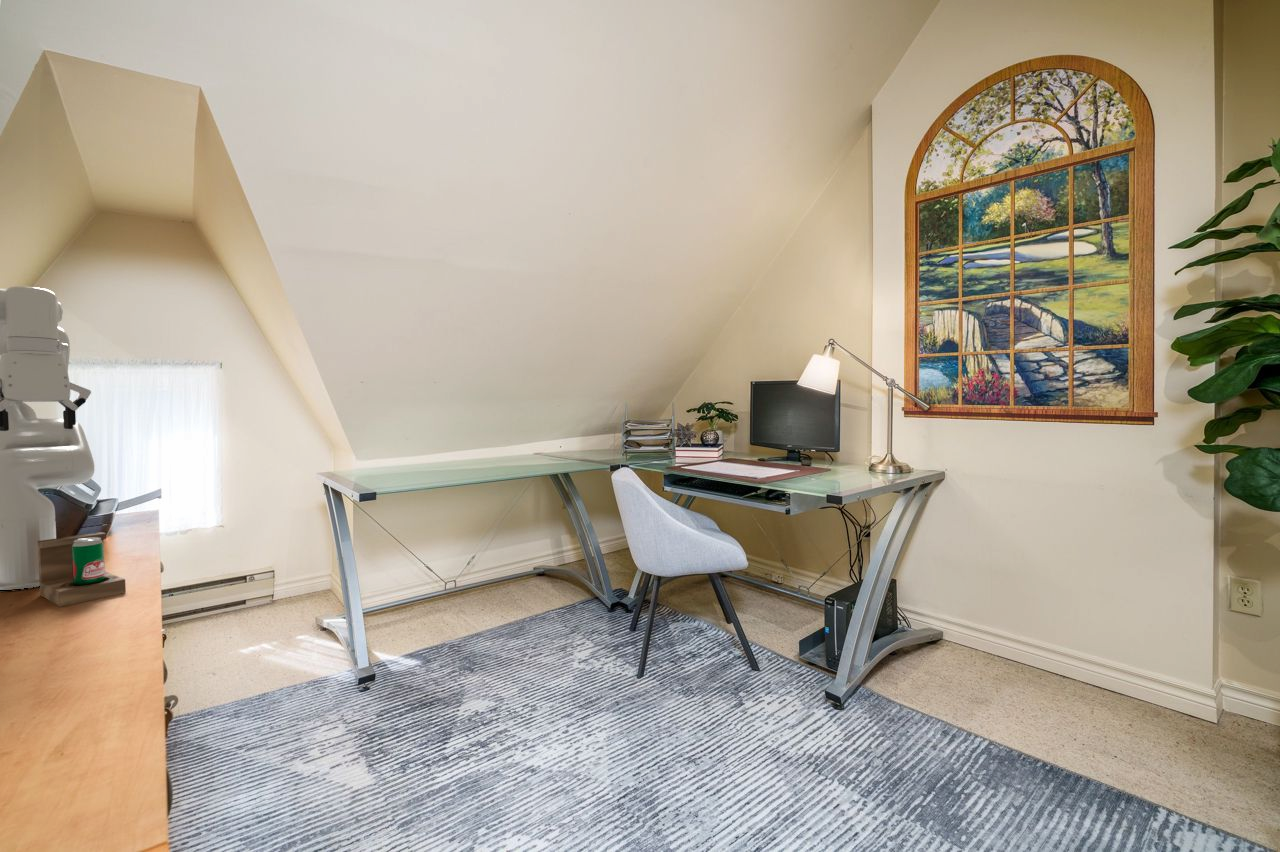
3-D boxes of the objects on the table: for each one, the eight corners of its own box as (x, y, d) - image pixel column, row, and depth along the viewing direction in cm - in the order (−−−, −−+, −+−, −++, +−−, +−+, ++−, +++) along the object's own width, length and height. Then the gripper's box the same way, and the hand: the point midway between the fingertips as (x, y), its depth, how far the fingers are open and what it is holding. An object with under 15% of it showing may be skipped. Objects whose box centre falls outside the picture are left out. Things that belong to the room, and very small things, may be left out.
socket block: (40, 595, 128) (37, 541, 128) (102, 583, 137) (100, 531, 137) (61, 606, 121) (58, 548, 121) (125, 592, 130) (123, 538, 130)
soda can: (85, 598, 125) (83, 542, 125) (67, 596, 127) (64, 541, 126) (111, 590, 130) (109, 537, 130) (93, 589, 131) (91, 536, 131)
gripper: (82, 351, 132) (85, 427, 133) (-33, 345, 117) (-29, 431, 118) (94, 349, 128) (97, 428, 129) (-24, 343, 113) (-19, 432, 114)
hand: (37, 429), depth 123 cm, fingers open, 9 cm apart
